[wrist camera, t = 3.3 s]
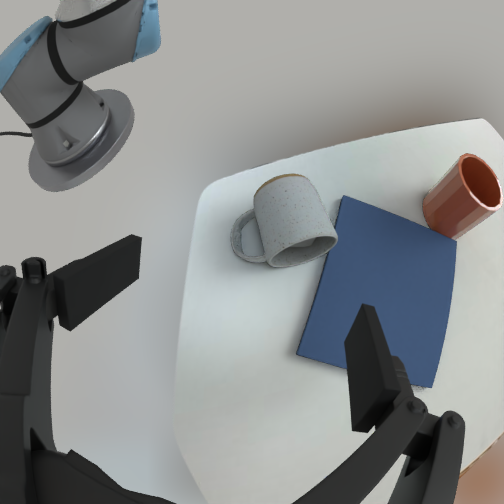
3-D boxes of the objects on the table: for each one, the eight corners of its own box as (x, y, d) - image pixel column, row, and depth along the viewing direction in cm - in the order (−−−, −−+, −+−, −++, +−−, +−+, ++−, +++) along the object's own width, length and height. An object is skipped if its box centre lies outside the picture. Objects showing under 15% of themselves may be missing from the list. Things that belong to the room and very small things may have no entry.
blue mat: (295, 354, 29) (297, 354, 29) (341, 198, 35) (343, 194, 34) (427, 387, 27) (431, 388, 26) (453, 243, 33) (456, 241, 32)
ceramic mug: (306, 196, 35) (315, 160, 28) (330, 255, 33) (347, 230, 26) (224, 218, 35) (215, 185, 28) (242, 282, 32) (236, 263, 25)
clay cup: (420, 229, 34) (460, 194, 24) (423, 183, 36) (455, 143, 27) (462, 248, 33) (505, 220, 23) (462, 202, 35) (498, 170, 26)
